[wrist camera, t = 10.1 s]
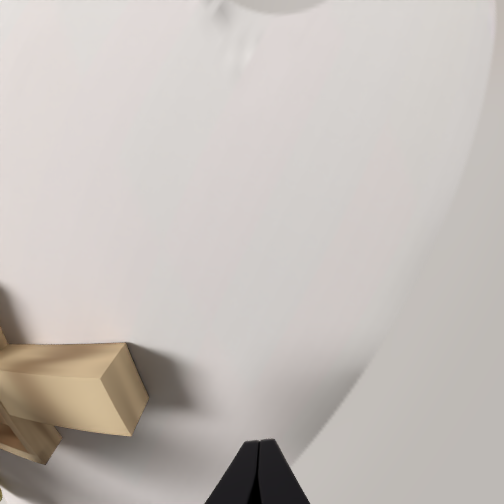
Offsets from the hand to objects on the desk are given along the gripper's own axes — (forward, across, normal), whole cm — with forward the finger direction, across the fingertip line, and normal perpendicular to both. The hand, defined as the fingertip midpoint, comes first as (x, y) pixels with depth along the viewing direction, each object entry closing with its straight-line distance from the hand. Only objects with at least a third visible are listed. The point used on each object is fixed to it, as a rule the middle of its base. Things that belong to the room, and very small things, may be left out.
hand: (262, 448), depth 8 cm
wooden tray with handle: (+5, +14, 0) cm, 15 cm away
